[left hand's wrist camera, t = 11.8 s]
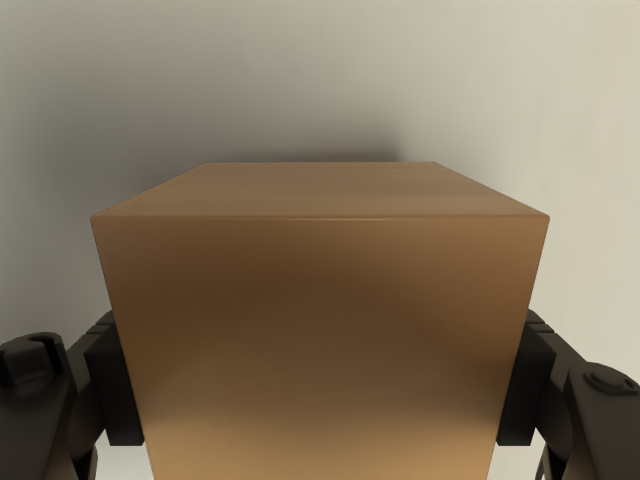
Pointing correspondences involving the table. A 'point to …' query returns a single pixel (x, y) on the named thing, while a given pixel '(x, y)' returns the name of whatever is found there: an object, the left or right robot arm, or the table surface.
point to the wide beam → (320, 318)
